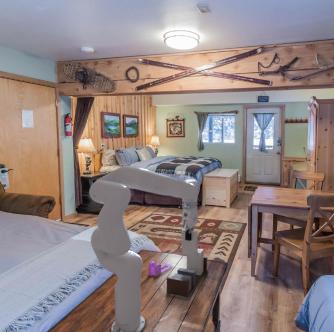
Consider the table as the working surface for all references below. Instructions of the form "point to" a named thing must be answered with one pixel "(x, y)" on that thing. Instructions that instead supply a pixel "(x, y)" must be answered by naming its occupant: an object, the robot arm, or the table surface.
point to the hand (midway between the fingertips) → (189, 238)
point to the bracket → (157, 268)
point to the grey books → (186, 276)
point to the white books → (196, 262)
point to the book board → (184, 283)
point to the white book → (190, 243)
